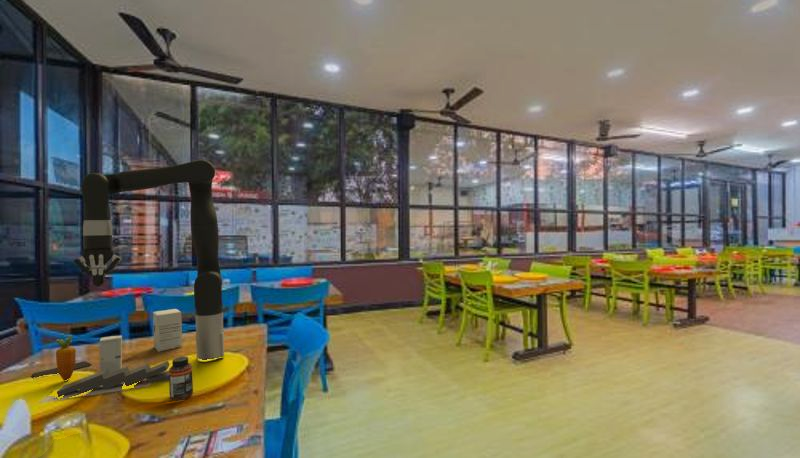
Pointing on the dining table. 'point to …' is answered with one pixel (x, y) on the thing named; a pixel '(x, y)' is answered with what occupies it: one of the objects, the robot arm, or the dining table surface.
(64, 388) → the domino far
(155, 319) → the supplement box
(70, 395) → the domino mat
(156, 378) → the domino
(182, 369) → the supplement bottle
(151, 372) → the domino
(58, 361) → the carrot
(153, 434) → the dining table surface
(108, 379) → the domino
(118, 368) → the skincare box
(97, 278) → the robot arm
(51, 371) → the phone
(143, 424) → the dining table surface
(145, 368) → the domino
